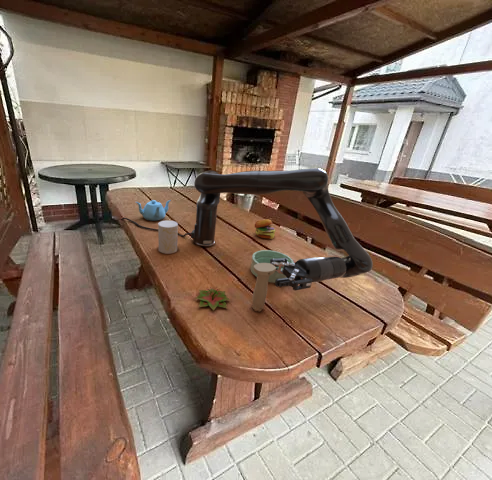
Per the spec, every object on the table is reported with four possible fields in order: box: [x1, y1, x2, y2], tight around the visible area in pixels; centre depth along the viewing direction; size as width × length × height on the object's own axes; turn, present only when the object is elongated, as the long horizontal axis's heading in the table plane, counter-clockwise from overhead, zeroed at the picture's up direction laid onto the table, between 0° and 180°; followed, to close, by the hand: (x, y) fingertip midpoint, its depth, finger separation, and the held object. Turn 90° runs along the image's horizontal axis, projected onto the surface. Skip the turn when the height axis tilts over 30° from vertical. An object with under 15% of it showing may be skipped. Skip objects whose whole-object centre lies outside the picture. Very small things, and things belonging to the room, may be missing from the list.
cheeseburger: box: [254, 218, 276, 240], centre depth 136 cm, size 10×11×10 cm
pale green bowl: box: [250, 249, 295, 284], centre depth 101 cm, size 16×16×6 cm
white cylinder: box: [157, 220, 179, 255], centre depth 112 cm, size 8×8×12 cm
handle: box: [251, 263, 276, 312], centre depth 78 cm, size 5×6×15 cm
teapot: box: [135, 199, 172, 222], centre depth 148 cm, size 15×15×10 cm
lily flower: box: [195, 286, 231, 312], centre depth 83 cm, size 12×12×5 cm
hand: (268, 275), depth 77 cm, fingers open, 8 cm apart
